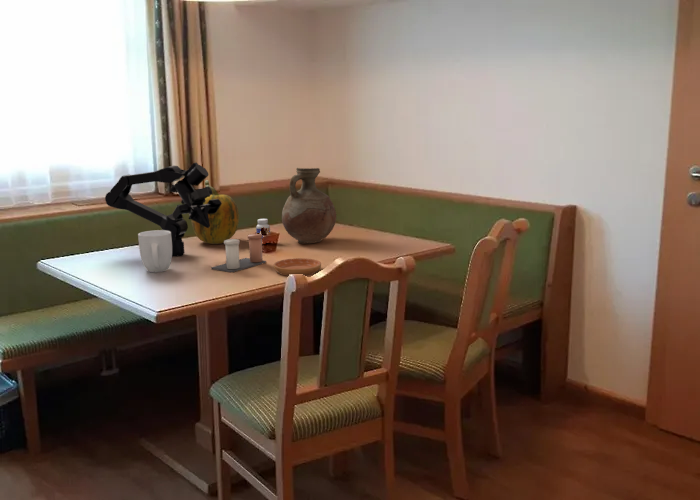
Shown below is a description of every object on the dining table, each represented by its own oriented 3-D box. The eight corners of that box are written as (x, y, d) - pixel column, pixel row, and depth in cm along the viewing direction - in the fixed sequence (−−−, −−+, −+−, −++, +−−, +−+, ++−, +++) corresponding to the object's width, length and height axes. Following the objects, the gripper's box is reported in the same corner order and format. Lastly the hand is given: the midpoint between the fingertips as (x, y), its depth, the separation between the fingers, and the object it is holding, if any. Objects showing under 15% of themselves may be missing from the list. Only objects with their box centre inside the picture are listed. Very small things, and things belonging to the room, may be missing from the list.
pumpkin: (205, 237, 309) (202, 178, 304) (248, 238, 304) (244, 178, 299) (184, 246, 292) (180, 183, 287) (228, 248, 287) (225, 184, 281)
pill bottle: (268, 245, 292) (267, 220, 289) (255, 244, 293) (254, 220, 291) (272, 242, 297) (271, 218, 295) (259, 241, 298) (258, 218, 296)
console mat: (211, 269, 254) (211, 267, 254) (245, 259, 267) (245, 257, 267) (232, 272, 248) (231, 270, 248) (266, 262, 261) (266, 261, 261)
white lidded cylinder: (222, 268, 251) (220, 241, 249) (233, 265, 255) (231, 238, 253) (233, 270, 248) (231, 242, 246) (244, 266, 252) (242, 240, 250)
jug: (347, 239, 298) (345, 165, 292) (316, 250, 280) (314, 171, 274) (303, 235, 310) (301, 163, 303) (271, 244, 292) (268, 169, 285)
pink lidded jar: (245, 261, 260) (244, 235, 258) (256, 258, 264) (254, 233, 262) (256, 263, 257) (255, 236, 255) (266, 260, 261) (265, 234, 259)
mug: (173, 275, 246) (171, 237, 243) (139, 277, 244) (136, 239, 241) (174, 265, 260) (171, 229, 258) (141, 267, 258) (138, 231, 255)
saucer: (326, 267, 254) (326, 258, 254) (314, 278, 239) (313, 269, 238) (282, 265, 258) (282, 257, 257) (267, 276, 243) (267, 268, 242)
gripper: (175, 182, 258) (196, 216, 253) (217, 177, 271) (238, 209, 267) (163, 202, 265) (184, 236, 260) (205, 196, 278) (225, 228, 274)
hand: (208, 227), depth 265 cm, fingers closed
